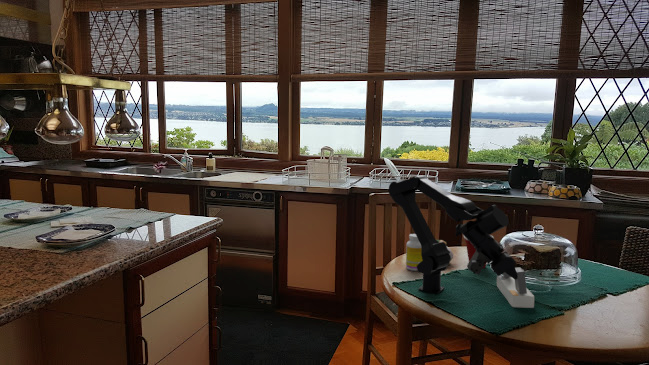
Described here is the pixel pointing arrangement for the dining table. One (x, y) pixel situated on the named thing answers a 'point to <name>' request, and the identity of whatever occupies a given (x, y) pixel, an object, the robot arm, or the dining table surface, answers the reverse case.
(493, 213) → the robot arm
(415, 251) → the supplement bottle
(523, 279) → the grey rectangular block
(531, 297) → the switch console
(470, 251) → the plastic cup
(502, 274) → the lever grey tag
